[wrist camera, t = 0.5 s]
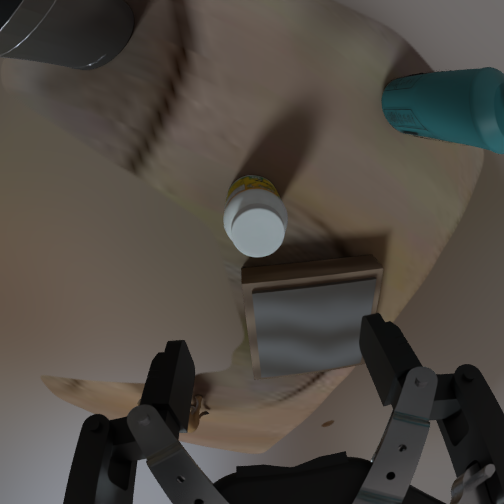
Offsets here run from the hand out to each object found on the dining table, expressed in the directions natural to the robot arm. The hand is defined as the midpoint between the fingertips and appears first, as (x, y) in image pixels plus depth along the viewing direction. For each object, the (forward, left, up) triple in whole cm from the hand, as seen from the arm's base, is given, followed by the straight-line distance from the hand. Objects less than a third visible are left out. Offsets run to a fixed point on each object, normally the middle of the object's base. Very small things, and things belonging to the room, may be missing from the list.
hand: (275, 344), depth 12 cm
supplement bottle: (-1, 0, -20) cm, 20 cm away
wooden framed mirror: (+15, +6, -20) cm, 26 cm away
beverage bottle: (-11, +17, -20) cm, 29 cm away
